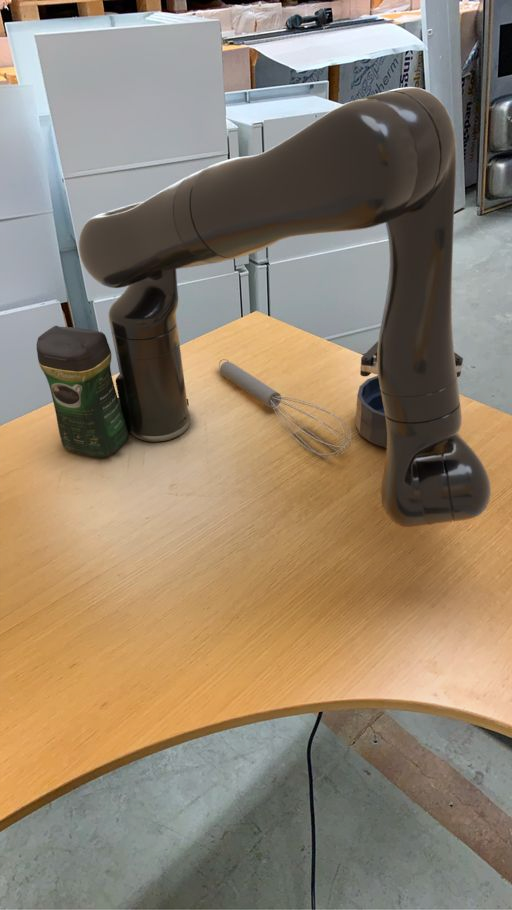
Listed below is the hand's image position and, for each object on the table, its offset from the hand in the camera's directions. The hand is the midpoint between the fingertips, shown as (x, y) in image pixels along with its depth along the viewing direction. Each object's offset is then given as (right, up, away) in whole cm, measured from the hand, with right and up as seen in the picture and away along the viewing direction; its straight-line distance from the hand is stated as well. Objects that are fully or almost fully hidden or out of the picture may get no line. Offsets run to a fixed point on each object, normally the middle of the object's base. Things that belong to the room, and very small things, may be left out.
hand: (404, 333), depth 93 cm
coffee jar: (-45, -15, +7) cm, 48 cm away
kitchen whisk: (-18, -11, +11) cm, 24 cm away
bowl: (0, -13, +7) cm, 15 cm away
